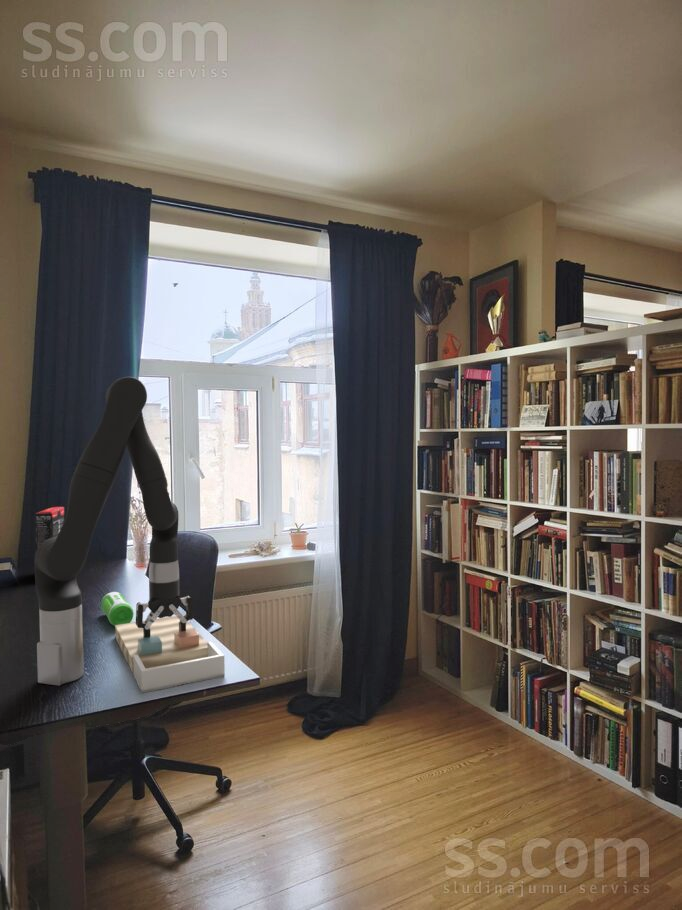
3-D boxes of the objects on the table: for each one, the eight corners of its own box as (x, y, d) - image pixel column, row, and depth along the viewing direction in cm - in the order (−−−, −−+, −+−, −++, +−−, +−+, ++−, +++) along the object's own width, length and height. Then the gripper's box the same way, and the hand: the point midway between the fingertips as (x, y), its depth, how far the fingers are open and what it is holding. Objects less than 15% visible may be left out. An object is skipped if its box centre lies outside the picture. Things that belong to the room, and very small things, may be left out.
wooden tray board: (211, 660, 152) (211, 646, 152) (133, 675, 143) (133, 661, 143) (182, 626, 178) (182, 614, 178) (115, 637, 169) (115, 625, 169)
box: (224, 675, 142) (224, 655, 142) (142, 693, 133) (141, 671, 133) (211, 660, 152) (211, 641, 152) (133, 675, 143) (133, 655, 142)
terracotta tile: (199, 644, 153) (198, 634, 153) (179, 648, 151) (179, 638, 151) (193, 638, 158) (193, 629, 158) (174, 642, 155) (174, 632, 155)
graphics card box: (48, 571, 248) (46, 506, 247) (66, 570, 249) (64, 506, 248) (35, 582, 231) (33, 512, 230) (54, 581, 232) (52, 511, 231)
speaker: (135, 627, 178) (134, 602, 178) (109, 631, 175) (108, 606, 174) (124, 611, 193) (123, 588, 193) (100, 615, 190) (99, 591, 189)
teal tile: (161, 651, 148) (161, 641, 148) (141, 655, 146) (140, 645, 146) (158, 645, 153) (157, 635, 153) (137, 648, 151) (137, 638, 150)
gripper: (138, 584, 147) (139, 649, 148) (195, 577, 155) (196, 638, 155) (132, 578, 154) (133, 639, 155) (187, 571, 161) (188, 630, 162)
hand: (165, 639), depth 155 cm, fingers open, 8 cm apart
